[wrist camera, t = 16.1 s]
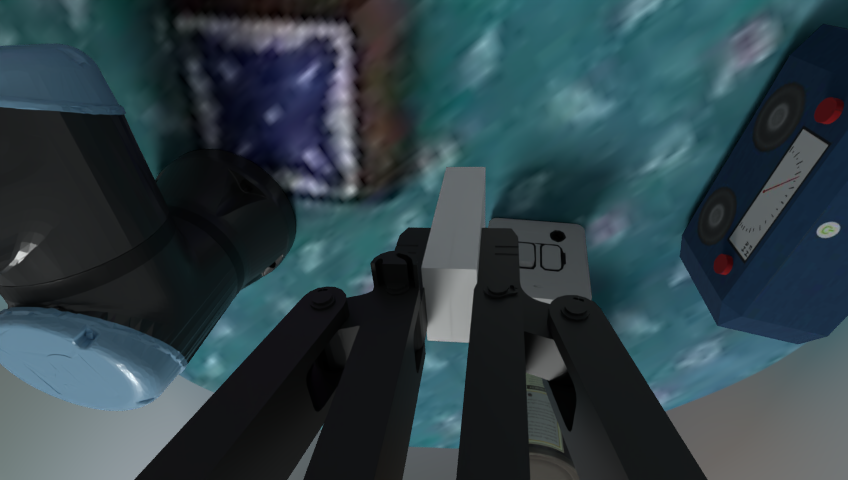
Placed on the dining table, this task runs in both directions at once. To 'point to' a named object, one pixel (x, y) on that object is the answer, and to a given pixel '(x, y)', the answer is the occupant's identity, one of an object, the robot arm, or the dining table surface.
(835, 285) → the radio
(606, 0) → the dining table surface
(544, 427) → the coffee can
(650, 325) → the dining table surface
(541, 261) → the electrical switch
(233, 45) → the dining table surface
